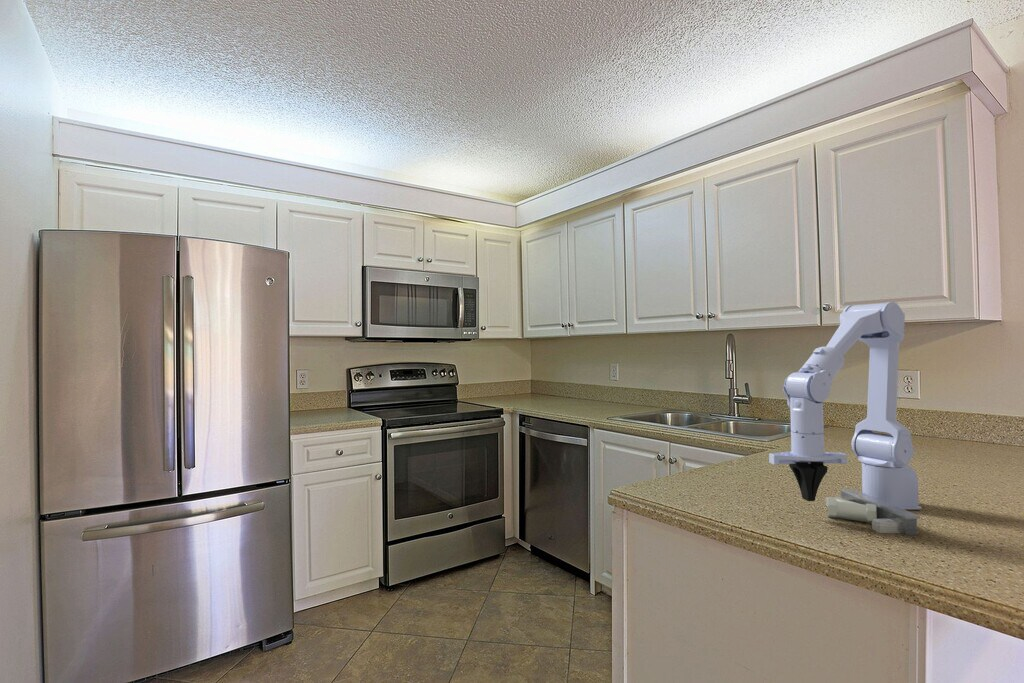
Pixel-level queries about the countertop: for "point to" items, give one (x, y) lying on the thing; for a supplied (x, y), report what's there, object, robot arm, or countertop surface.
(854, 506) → the pipe fitting
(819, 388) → the robot arm
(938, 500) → the countertop surface
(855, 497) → the grey bracket
